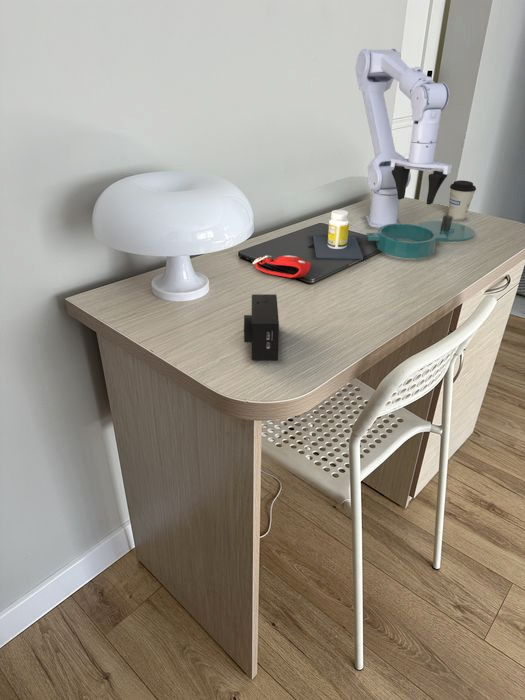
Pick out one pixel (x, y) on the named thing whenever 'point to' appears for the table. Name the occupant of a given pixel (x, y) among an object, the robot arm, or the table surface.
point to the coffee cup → (460, 198)
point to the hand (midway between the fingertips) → (415, 201)
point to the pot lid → (449, 229)
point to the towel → (347, 253)
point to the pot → (403, 248)
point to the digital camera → (263, 327)
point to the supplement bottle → (338, 229)
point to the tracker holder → (287, 261)
